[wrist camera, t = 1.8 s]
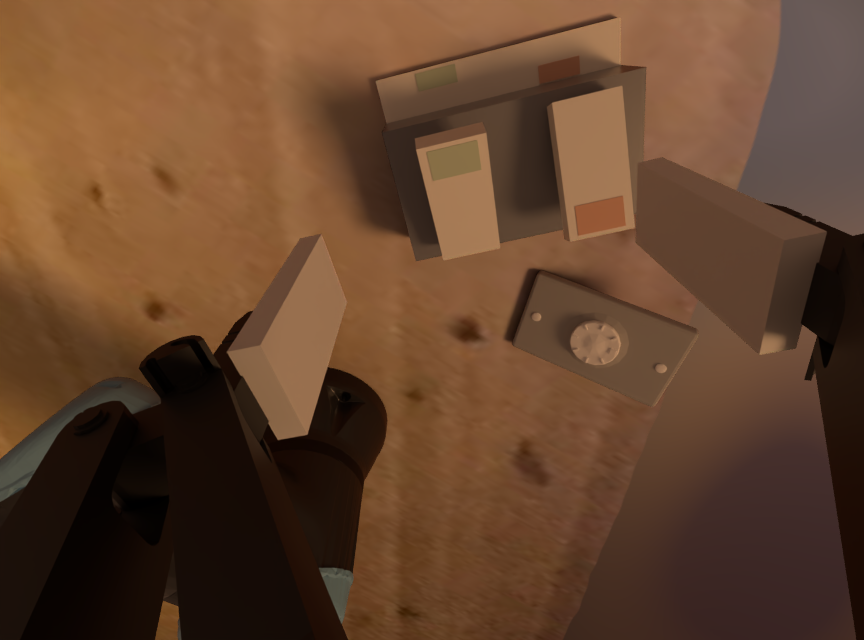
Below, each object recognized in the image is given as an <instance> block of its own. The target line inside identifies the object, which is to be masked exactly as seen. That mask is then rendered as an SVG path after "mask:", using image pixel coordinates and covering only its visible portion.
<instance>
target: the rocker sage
mask: <svg viewBox="0 0 864 640" xmlns="http://www.w3.org/2000/svg"><path fill="white" fill-rule="evenodd" d="M415 144H416V151H417V155H418V160H419V164H420V168H421V172H422V176H423V180H424V184H425V188H426V192H427V196H428V200H429V204H430V208H431V212H432V216H433V220H434V224H435V228H436V232H437V236H438V240H439V244H440V248H441V252H442V256H443V260H448V259H453V258H457V257H462V256H467V255H471V254H476V253H481V252H485V251H490V250H495V249H499V248H500V241H499V233H498V224H497V216H496V208H495V200H494V192H493V183H492V175H491V167H490V159H489V150H488V142H487V134H486V130H485V128H484V125H483V122H480V123H476V124H472V125H468V126H463V127H459V128H455V129H451V130H447V131H443V132H439V133H435V134H431V135H427V136H423V137H418V138H415Z"/></svg>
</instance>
